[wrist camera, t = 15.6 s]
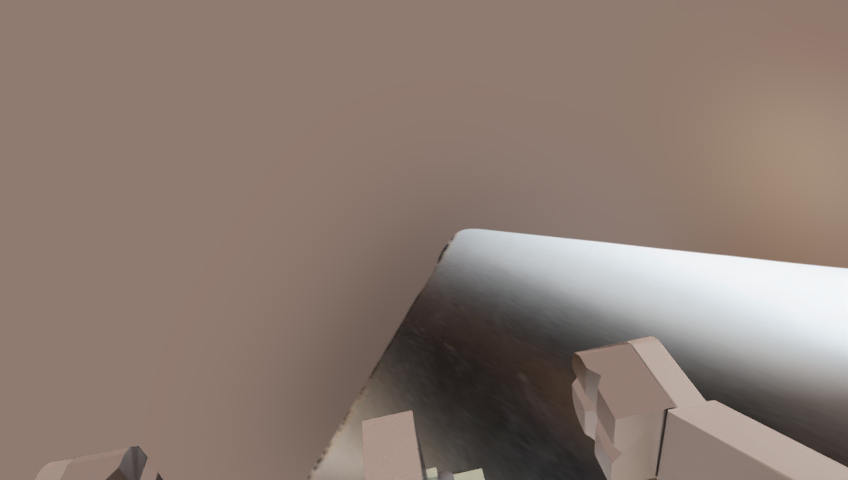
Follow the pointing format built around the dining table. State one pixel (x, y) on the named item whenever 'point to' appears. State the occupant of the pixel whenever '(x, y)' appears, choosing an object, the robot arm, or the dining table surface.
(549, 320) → the dining table surface
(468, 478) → the peg board
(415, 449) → the block
